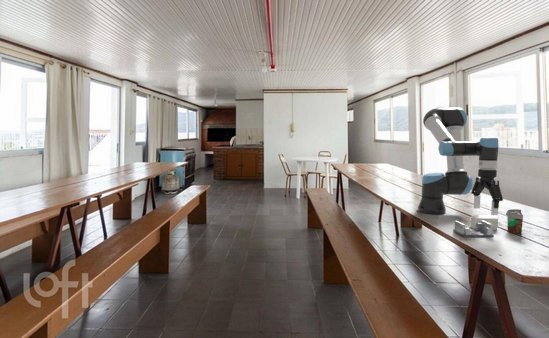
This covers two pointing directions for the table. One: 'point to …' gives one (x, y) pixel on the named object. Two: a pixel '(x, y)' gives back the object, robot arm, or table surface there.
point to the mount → (481, 229)
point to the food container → (514, 221)
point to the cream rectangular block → (488, 219)
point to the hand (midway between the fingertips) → (485, 211)
